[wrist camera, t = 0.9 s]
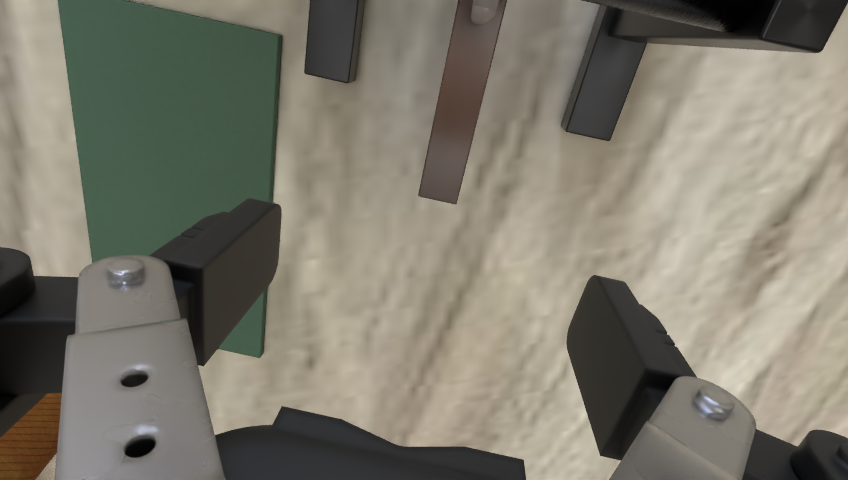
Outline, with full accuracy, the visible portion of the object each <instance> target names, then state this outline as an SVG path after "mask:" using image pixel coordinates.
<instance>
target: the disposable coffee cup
mask: <svg viewBox="0 0 848 480" xmlns="http://www.w3.org/2000/svg"><path fill="white" fill-rule="evenodd" d="M61 398H62V393H48V394H46V395H45V396H44V397H43V398H42V399H41V400H40V401H39V402H38V403H37V404H36V405H35V406H34V407H33V408H32V409H31V410H29V411H28V412H27V413H26V414H25V415H24V416H23V417H22V418H21V419H20V420H19V421H18V422H17V423H15V424H14V425H13V426H12V427H11V428H10V429H9V430H8V431H7V432H6V433H5V434H4V435H3V436H1V437H0V480H35V479H36V478H37V477H38V476H39V474H40V473H41V472H42V470H43V469H44V468H45V467H46V465H47V464H48V463H49V462H50V460H51V459H52V458H53V456H54V455H55V454H56V453H57V445H58V434H59V422H60V410H61Z"/></svg>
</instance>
